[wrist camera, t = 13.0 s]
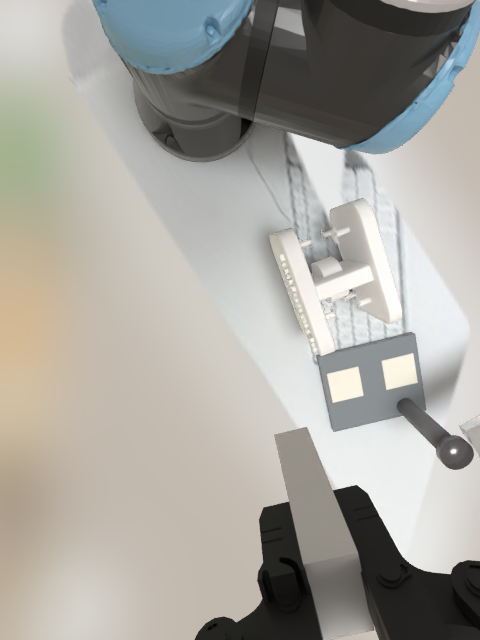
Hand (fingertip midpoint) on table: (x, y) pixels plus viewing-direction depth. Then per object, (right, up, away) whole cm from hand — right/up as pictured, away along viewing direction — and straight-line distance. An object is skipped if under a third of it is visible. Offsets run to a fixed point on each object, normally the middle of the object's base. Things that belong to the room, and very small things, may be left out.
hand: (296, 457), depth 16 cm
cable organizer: (+8, +13, +33) cm, 36 cm away
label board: (+17, -3, +36) cm, 40 cm away
